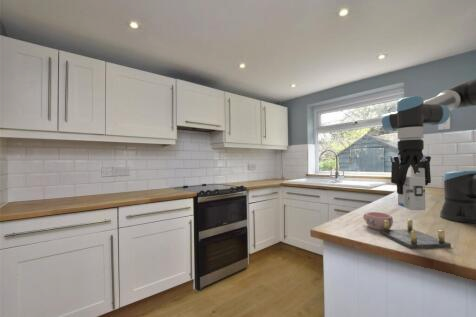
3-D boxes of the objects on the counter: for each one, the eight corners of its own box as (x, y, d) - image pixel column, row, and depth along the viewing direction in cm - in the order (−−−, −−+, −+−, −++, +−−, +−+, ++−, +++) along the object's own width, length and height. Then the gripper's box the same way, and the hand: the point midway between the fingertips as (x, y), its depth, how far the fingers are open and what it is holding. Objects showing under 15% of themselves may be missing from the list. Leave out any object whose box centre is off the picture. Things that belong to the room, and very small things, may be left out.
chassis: (413, 232, 88) (413, 219, 88) (450, 247, 73) (450, 231, 73) (379, 233, 88) (379, 220, 88) (410, 248, 73) (409, 232, 73)
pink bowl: (398, 230, 91) (398, 216, 91) (382, 233, 87) (382, 218, 87) (371, 222, 102) (370, 210, 102) (356, 225, 98) (355, 212, 98)
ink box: (397, 205, 85) (397, 167, 85) (411, 205, 84) (411, 167, 84) (410, 210, 77) (409, 168, 77) (426, 210, 76) (425, 168, 76)
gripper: (425, 140, 85) (426, 200, 85) (378, 140, 84) (379, 201, 84) (444, 138, 77) (445, 204, 77) (392, 139, 76) (393, 205, 76)
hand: (411, 202), depth 80 cm, fingers closed on ink box, 6 cm apart
